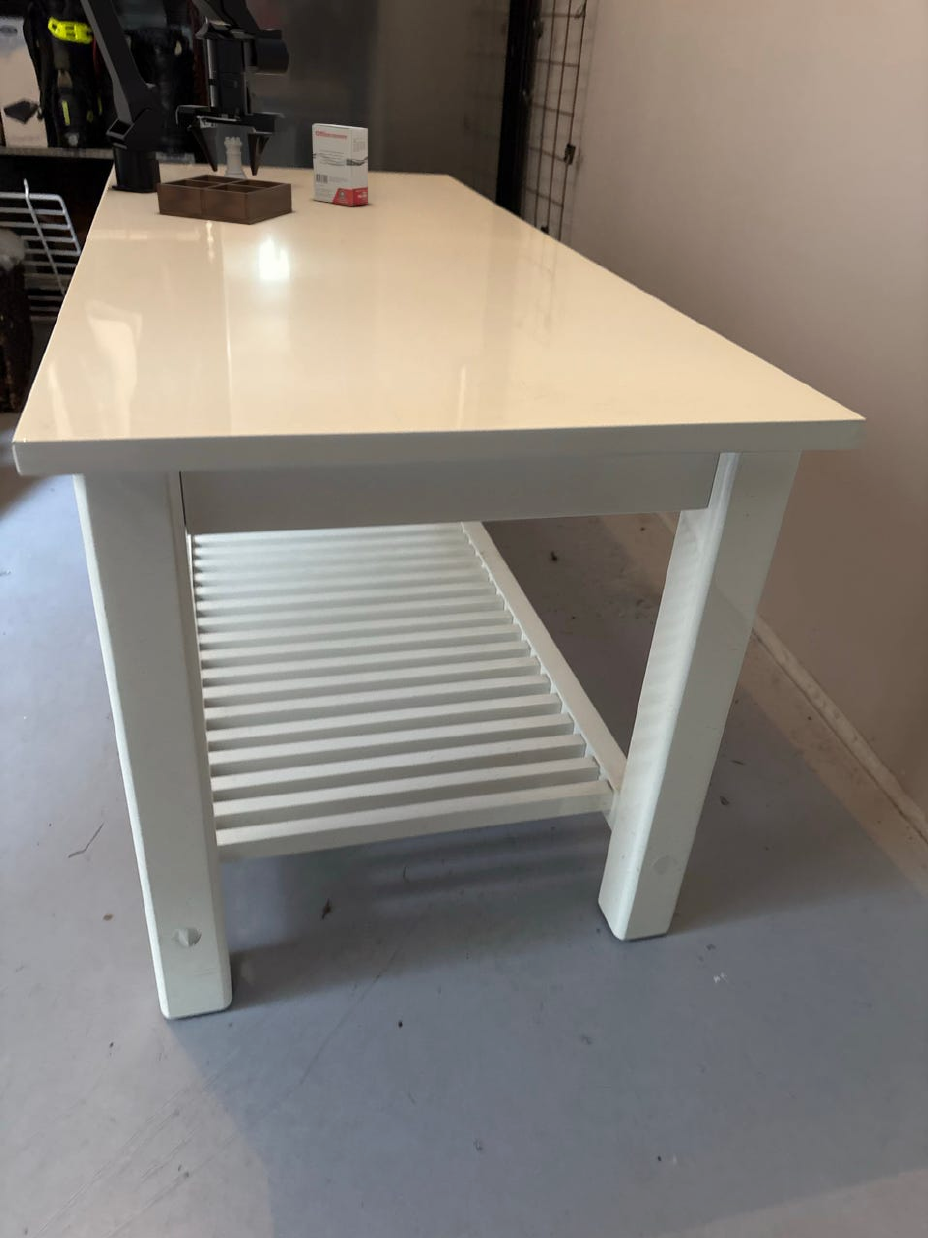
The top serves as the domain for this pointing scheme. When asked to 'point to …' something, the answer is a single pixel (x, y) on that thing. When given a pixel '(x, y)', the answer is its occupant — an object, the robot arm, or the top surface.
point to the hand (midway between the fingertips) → (234, 173)
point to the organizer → (224, 198)
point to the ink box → (340, 164)
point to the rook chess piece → (234, 158)
